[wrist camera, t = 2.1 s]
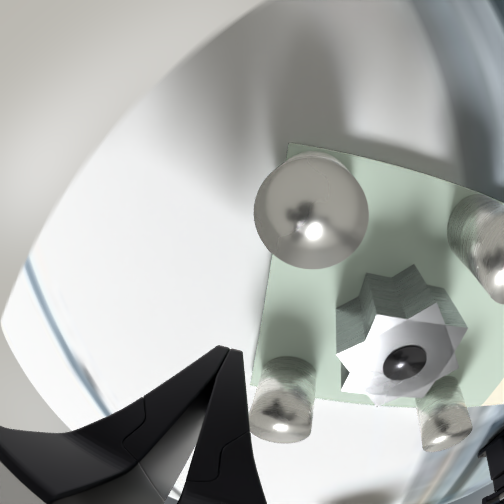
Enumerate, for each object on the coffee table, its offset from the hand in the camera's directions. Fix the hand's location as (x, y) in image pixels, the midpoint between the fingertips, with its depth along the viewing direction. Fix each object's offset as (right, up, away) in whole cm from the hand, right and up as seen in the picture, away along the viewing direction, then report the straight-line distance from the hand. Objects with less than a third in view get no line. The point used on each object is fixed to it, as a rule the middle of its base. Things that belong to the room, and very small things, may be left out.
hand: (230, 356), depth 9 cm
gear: (+7, 0, +3) cm, 8 cm away
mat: (+12, 0, +3) cm, 12 cm away
